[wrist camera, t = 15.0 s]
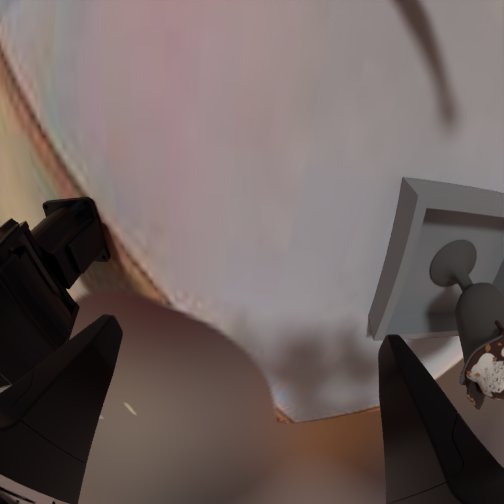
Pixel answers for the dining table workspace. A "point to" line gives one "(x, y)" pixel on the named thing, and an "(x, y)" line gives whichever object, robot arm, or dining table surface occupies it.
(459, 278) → the sundae
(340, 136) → the dining table surface
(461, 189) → the tray
